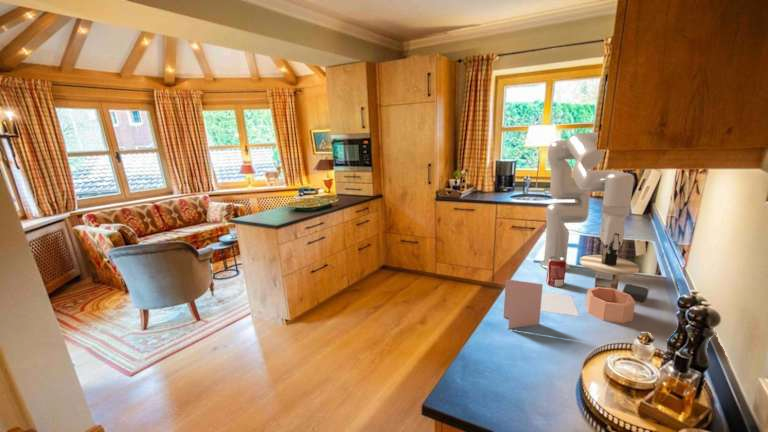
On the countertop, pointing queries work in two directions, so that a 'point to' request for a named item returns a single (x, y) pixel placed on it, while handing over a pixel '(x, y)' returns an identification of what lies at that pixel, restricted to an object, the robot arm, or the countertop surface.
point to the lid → (599, 265)
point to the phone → (636, 292)
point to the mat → (558, 304)
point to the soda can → (556, 271)
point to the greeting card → (522, 303)
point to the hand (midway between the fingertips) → (608, 261)
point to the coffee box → (607, 279)
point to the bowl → (610, 304)
